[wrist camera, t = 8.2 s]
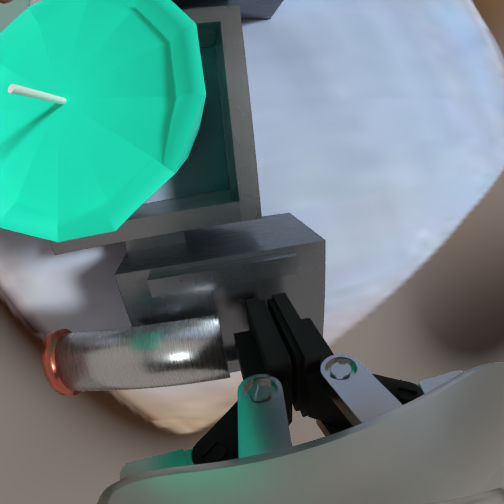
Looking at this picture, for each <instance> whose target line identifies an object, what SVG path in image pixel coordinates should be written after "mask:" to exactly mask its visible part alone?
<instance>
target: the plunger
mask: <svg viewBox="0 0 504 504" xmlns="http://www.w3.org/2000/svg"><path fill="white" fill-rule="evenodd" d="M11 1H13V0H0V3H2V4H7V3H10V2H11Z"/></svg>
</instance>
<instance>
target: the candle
mask: <svg viewBox="0 0 504 504" xmlns="http://www.w3.org/2000/svg"><path fill="white" fill-rule="evenodd" d="M205 98H206V90H205V83H204V76H203V69H202V62H201V55H200V48H199V40H198V33H197V26H196V23H195V22H194V21H193V20H192V19H191V18H190V17H189V16H187V15H186V14H185V13H184V12H183V11H182V10H181V9H180V8H179V7H178V6H177V5H176V4H175V3H174V2H172V1H171V0H42V1H40V2H38V3H35V4H33V5H31V6H30V7H28V8H27V9H26V10H25V11H24V12H23V13H21V14H20V15H19V16H18V17H17V18H16V19H15V20H14V21H13V22H11V23H10V24H9V25H8V26H7V27H6V28H5V29H4V30H3V31H2V32H1V33H0V228H3V229H7V230H11V231H15V232H19V233H23V234H27V235H31V236H35V237H39V238H43V239H47V240H51V241H55V242H62V241H67V240H72V239H77V238H82V237H87V236H92V235H97V234H103V233H108V232H113V231H116V230H117V229H118V228H119V227H120V226H121V225H122V224H123V223H124V222H125V221H126V220H127V219H128V218H129V217H130V216H131V215H132V214H133V213H134V212H135V211H136V210H137V209H138V208H139V207H140V206H141V205H142V204H143V203H144V202H145V201H146V200H147V199H148V198H149V197H150V196H152V195H153V194H154V193H155V192H156V191H157V190H158V189H159V188H160V187H161V186H162V185H163V184H164V183H166V182H167V181H168V180H169V179H170V178H171V177H172V176H173V175H174V174H176V172H177V171H178V170H179V168H180V167H181V166H182V164H183V163H184V162H185V161H186V159H187V158H188V157H189V154H190V152H191V149H192V147H193V144H194V142H195V139H196V136H197V134H198V131H199V128H200V123H201V118H202V113H203V108H204V103H205Z"/></svg>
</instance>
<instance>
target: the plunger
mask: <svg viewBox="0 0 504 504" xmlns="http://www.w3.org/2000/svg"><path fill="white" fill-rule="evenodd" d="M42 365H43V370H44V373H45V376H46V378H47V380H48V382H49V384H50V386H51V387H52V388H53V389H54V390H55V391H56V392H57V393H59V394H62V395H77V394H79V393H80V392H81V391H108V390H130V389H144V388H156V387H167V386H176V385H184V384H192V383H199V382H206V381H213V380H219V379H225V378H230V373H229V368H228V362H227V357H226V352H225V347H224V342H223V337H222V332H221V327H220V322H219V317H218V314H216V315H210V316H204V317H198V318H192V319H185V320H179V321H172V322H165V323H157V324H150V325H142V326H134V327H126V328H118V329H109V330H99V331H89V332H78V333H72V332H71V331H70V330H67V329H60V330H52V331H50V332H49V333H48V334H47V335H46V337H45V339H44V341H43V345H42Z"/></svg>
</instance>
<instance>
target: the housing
mask: <svg viewBox="0 0 504 504" xmlns="http://www.w3.org/2000/svg"><path fill="white" fill-rule="evenodd" d="M171 1H172V2H174V3H175V4H176V5H177V6H178V7H179V8H180V9H181V10H182V11H183V12H184V13H185V14H186V15H187V16H189V17H190V18H191V19H192V20H193V21H194V22H195V23H196V26H197V33H198V40H199V48H200V47H209V46H215V53H216V64H217V74H218V84H219V93H220V103H221V112H222V122H223V131H224V140H225V149H226V158H227V167H228V176H229V184H230V190H225V191H218V192H211V193H204V194H198V195H192V196H186V197H180V198H174V199H168V200H163V201H157V202H152V203H147V204H142V205H141V206H140V207H139V208H138V209H137V210H136V211H135V212H134V213H133V214H132V215H131V216H130V217H129V218H128V219H127V220H126V221H125V222H124V223H123V224H122V225H121V226H120V227H119V228H118V229H117V230H116V231H113V232H108V233H103V234H97V235H92V236H87V237H82V238H77V239H72V240H67V241H62V242H55V241H51V240H50V242H51V245H52V249H53V252H54V255H58V254H63V253H67V252H72V251H77V250H82V249H87V248H92V247H97V246H102V245H107V244H113V243H118V242H123V241H125V245H126V249H127V254H126V256H125V257H124V259H123V261H122V263H121V264H120V266H119V268H118V270H117V272H116V274H115V277H116V280H117V284H118V287H119V290H120V293H121V296H122V299H123V302H124V305H125V308H126V310H127V313H128V316H129V319H130V321H131V324H132V327H134V326H142V325H150V324H157V323H165V322H172V321H179V320H185V319H192V318H198V317H204V316H210V315H216V314H218V317H219V322H220V327H221V332H222V337H223V342H224V347H225V352H226V357H227V362H228V368H229V373H231V372H236V371H241V368H240V364H239V360H238V355H237V350H236V345H235V339H234V333H238V332H244V331H249V326H248V319H247V311H246V304H245V300H247V299H252V298H257V297H258V298H259V300H264V301H265V303H266V305H267V307H268V304H267V299H270V298H271V295H273V294H278V293H283V292H285V293H286V295H287V297H288V298H289V300H290V302H291V303H292V305H293V306H294V308H295V310H296V311H297V313H298V315H299V316H300V318H301V319H305V318H310V319H311V320H312V322H313V323H314V325H315V326H316V328H317V329H318V331H319V332H320V334H321V336H322V337H323V323H324V300H325V240H324V239H323V238H322V237H321V236H319V235H318V234H317V233H315V232H314V231H313V230H312V229H310V228H309V227H308V226H306V225H305V224H304V223H302V222H301V221H300V220H298V219H297V218H296V217H294V216H293V215H292V214H290V213H285V214H278V215H270V216H263V217H262V216H261V206H260V195H259V184H258V174H257V163H256V153H255V143H254V133H253V123H252V114H251V104H250V95H249V85H248V76H247V67H246V58H245V49H244V40H243V32H242V23H241V19H270V18H271V17H272V16H273V14H274V13H275V11H276V10H277V8H278V7H279V6H280V4H281V3H282V1H283V0H171Z"/></svg>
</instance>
